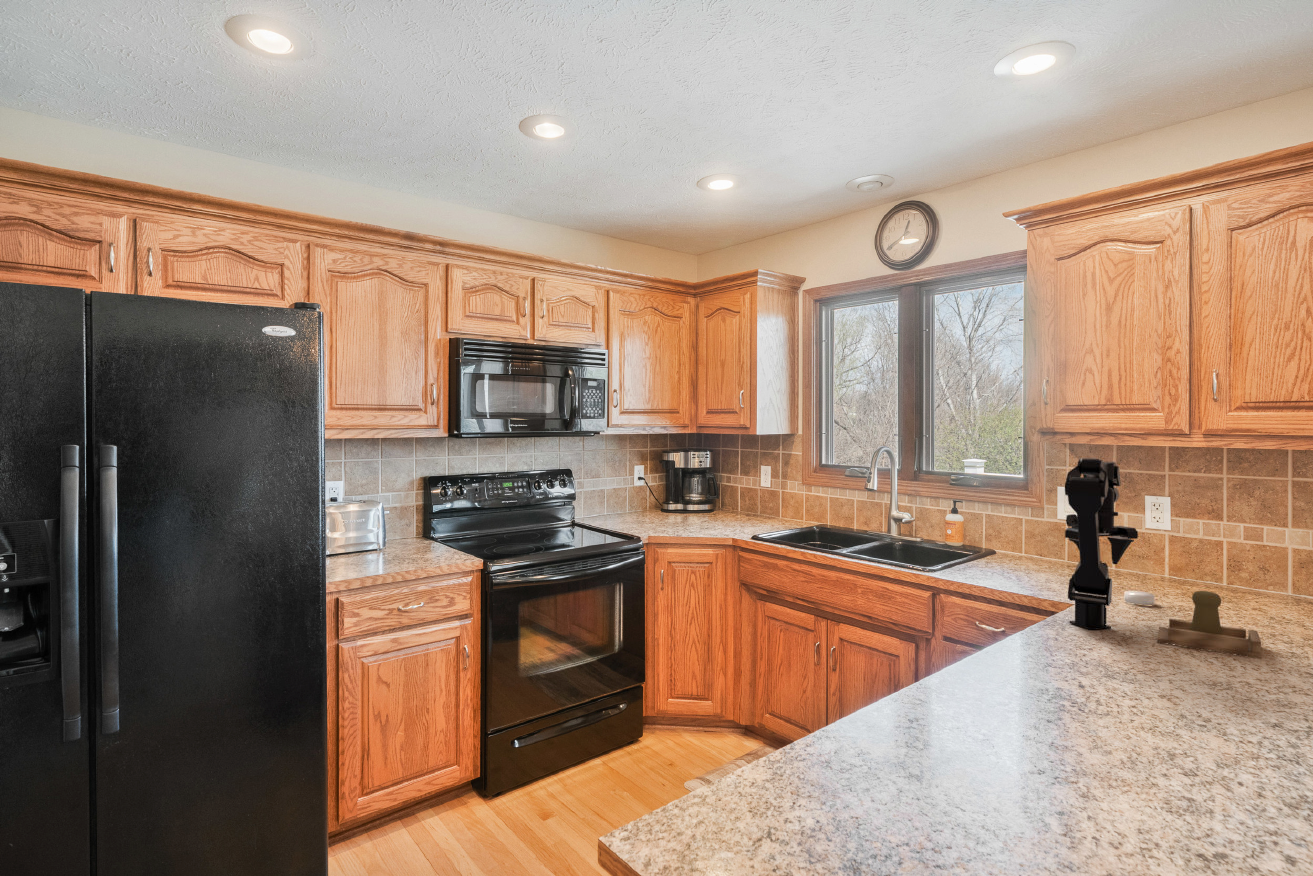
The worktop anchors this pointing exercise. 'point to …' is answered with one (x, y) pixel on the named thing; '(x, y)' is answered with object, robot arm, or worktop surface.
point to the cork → (1206, 612)
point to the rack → (1212, 639)
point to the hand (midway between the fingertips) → (1100, 564)
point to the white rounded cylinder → (1139, 597)
